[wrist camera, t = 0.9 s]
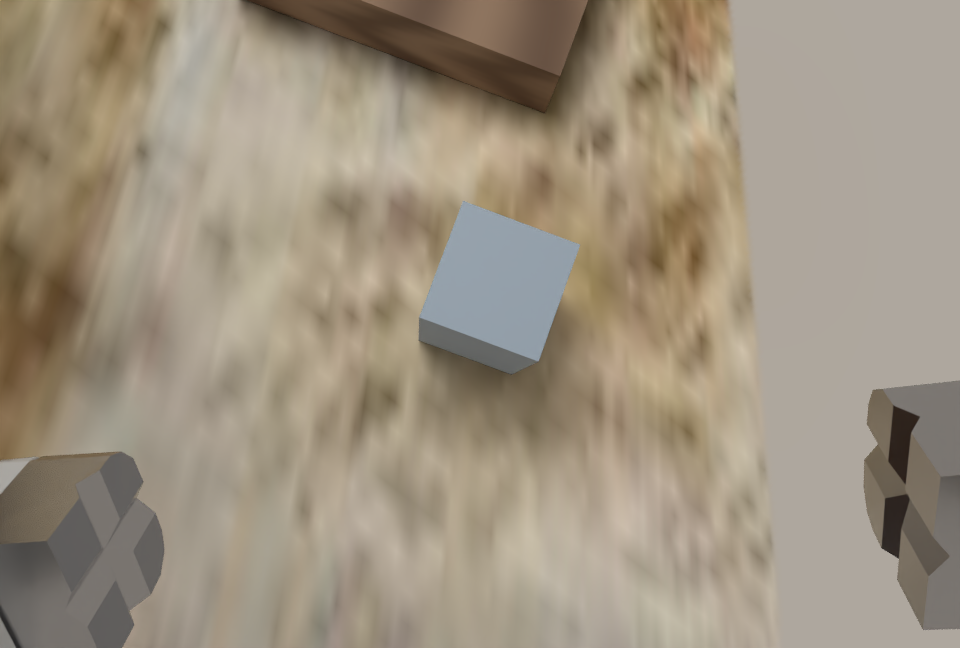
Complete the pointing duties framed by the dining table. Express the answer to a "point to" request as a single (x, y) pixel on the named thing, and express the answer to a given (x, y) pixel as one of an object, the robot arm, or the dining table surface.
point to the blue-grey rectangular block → (496, 290)
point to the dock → (460, 37)
